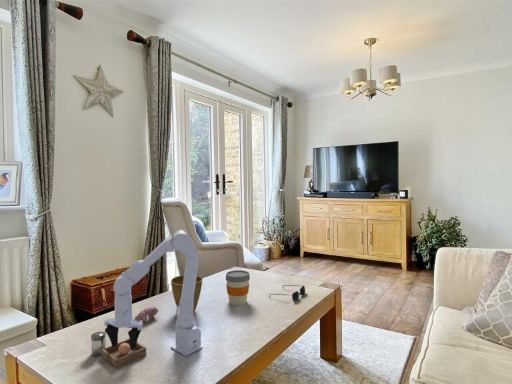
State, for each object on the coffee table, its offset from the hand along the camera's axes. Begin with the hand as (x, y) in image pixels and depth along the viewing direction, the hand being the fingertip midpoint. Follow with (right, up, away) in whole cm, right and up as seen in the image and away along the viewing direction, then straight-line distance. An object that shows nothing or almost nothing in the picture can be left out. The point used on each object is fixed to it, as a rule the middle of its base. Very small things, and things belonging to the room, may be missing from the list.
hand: (124, 346), depth 115 cm
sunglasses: (+65, -2, +61) cm, 90 cm away
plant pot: (+14, -2, +39) cm, 42 cm away
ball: (0, -1, 0) cm, 1 cm away
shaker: (-10, -3, +2) cm, 11 cm away
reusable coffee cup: (+38, -2, +52) cm, 64 cm away
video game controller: (-2, -3, +30) cm, 31 cm away
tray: (0, -3, 0) cm, 3 cm away
